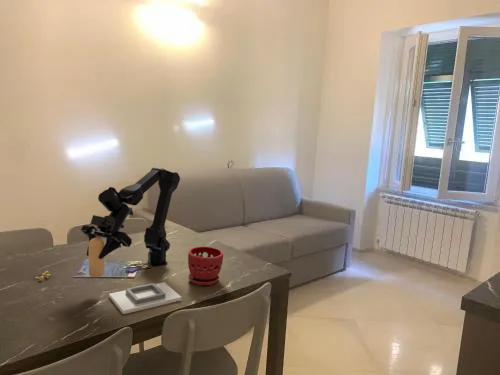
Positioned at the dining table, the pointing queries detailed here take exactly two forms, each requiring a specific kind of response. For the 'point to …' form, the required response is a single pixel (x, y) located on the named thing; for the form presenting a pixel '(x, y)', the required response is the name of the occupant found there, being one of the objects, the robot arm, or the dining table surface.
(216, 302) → the dining table surface
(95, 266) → the orange domed cylinder
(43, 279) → the yellow knobbed cluster
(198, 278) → the plant pot
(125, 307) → the plate
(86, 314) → the dining table surface
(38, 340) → the dining table surface
